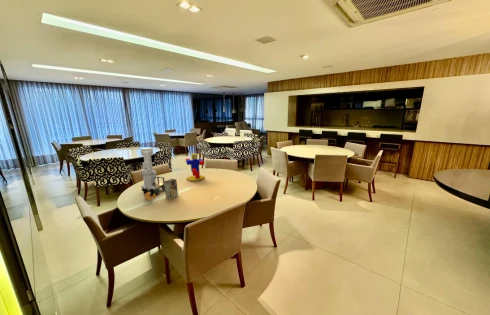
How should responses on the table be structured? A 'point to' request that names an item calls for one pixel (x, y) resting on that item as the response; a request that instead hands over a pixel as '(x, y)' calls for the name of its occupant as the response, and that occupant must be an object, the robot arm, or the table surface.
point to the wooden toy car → (158, 186)
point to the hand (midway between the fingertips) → (149, 195)
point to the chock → (149, 196)
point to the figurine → (195, 168)
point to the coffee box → (171, 188)
